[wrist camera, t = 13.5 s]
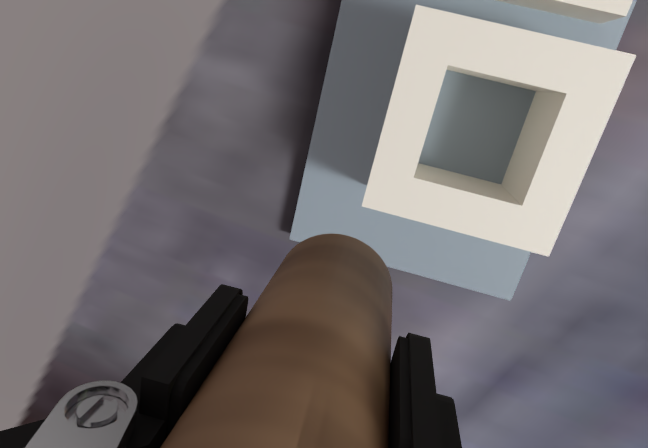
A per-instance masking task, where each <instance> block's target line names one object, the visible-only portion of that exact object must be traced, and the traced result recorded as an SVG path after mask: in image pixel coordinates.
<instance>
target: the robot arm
mask: <svg viewBox="0 0 648 448" xmlns="http://www.w3.org/2000/svg"><path fill="white" fill-rule="evenodd" d="M242 294H243V293H242V289H238V288H235V287H231V286H227V285H223V284H221V285H220V286H219V287H218V288H217V290H216V291H215V292H214V293H213V294H212V295H211V297H210V298H209V299H208V300H207V301H206V302H205V304H204V305H203V306H202V307H201V308H200V309H199V311H198V312H197V313H196V314H195V315H194V316H193V318H192V319H191V320H190V321H189V322H188V323H187V324H186V326H185V325H182V324H174V325H173V326H172V327H171V328H170V329H169V330H168V331H167V332H166V333H165V335H164V336H163V337H162V338H161V339H160V340H159V341H158V342H157V343H156V344H155V345H154V347H153V348H152V349H151V350H150V351H149V352H148V353H147V354H146V355H145V356H144V358H143V359H142V360H141V361H140V362H139V363H138V364H137V365H136V366H135V367H134V368H133V370H132V371H131V372H130V373H129V374H128V375H127V376H126V377H125V378H124V379H123V381H122V382H121V383H119V382H115V381H96V382H90V383H87V384H84V385H81V386H78V387H76V388H75V389H73V390H71V391H70V392H68V393H67V394H66V395H65V396H64V397H63V398H62V399H61V400H60V401H59V402H58V403H57V405H56V406H55V407H54V409H53V410H52V412H51V413H50V414H49V416H48V417H47V418H46V419H44V420H40V421H37V422H33V423H29V424H25V425H22V426H18V427H14V428H10V429H7V430H3V431H0V448H160V447H161V446H162V444H163V443H164V441H165V440H166V438H167V437H168V435H169V434H170V432H171V431H172V429H173V428H174V426H175V425H176V423H177V421H178V420H179V418H180V417H181V415H182V414H183V412H184V411H185V409H186V408H187V406H188V405H189V403H190V402H191V400H192V399H193V397H194V396H195V394H196V393H197V391H198V390H199V388H200V387H201V385H202V383H203V382H204V380H205V379H206V377H207V376H208V374H209V373H210V371H211V370H212V368H213V367H214V365H215V364H216V362H217V361H218V359H219V358H220V356H221V355H222V353H223V352H224V350H225V349H226V347H227V345H228V344H229V342H230V341H231V339H232V338H233V336H234V335H235V333H236V332H237V330H238V329H239V327H240V326H241V324H242V323H243V321H244V320H245V317H246V311H247V305H248V296H244V295H242ZM389 448H462V446H461V440H460V434H459V428H458V422H457V416H456V410H455V404H454V400H453V399H452V398H451V397H448V396H444V395H440V394H437V393H436V386H435V377H434V369H433V360H432V351H431V343H430V338H427V337H423V336H419V335H415V334H411V333H408V334H407V336H406V338H404V337H401V336H399V338H398V340H397V343H396V347H395V350H394V353H393V357H392V360H391V364H390V406H389Z"/></svg>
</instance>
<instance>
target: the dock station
mask: <svg viewBox="0 0 648 448" xmlns="http://www.w3.org/2000/svg"><path fill="white" fill-rule="evenodd" d="M636 1H637V0H342V1H341V6H340V11H339V15H338V20H337V24H336V29H335V33H334V38H333V43H332V47H331V52H330V56H329V61H328V65H327V70H326V74H325V79H324V84H323V88H322V93H321V97H320V102H319V106H318V111H317V116H316V120H315V125H314V129H313V134H312V138H311V143H310V147H309V152H308V157H307V161H306V166H305V170H304V175H303V179H302V184H301V189H300V193H299V198H298V202H297V207H296V211H295V216H294V220H293V225H292V230H291V234H290V240H294V241H297V242H302V241H304V240H306V239H308V238H310V237H313V236H316V235H321V234H342V235H347V236H350V237H353V238H356V239H358V240H360V241H362V242H364V243H365V244H367V245H368V246H370V247H371V248H372V249H373V250H374V251H375V252H376V253H377V254H378V255H379V256H380V257H381V259H382V260H383V261H384V263H385V265H386V266H387V267H391V268H394V269H398V270H402V271H405V272H409V273H412V274H416V275H420V276H423V277H427V278H430V279H434V280H438V281H441V282H445V283H448V284H452V285H456V286H459V287H463V288H466V289H470V290H474V291H477V292H481V293H484V294H488V295H492V296H495V297H499V298H502V299H506V300H510V301H511V299H512V297H513V294H514V292H515V290H516V287H517V285H518V282H519V280H520V278H521V275H522V273H523V271H524V268H525V266H526V263H527V261H528V259H529V256H530V254H531V252H533V253H537V254H541V255H545V256H548V257H549V255H550V253H551V251H552V248H553V246H554V244H555V241H556V239H557V237H558V234H559V232H560V230H561V228H562V225H563V223H564V221H565V218H566V216H567V214H568V211H569V209H570V207H571V205H572V202H573V200H574V198H575V195H576V193H577V191H578V188H579V186H580V184H581V182H582V179H583V177H584V175H585V172H586V170H587V168H588V165H589V163H590V161H591V159H592V156H593V154H594V152H595V149H596V147H597V145H598V142H599V140H600V138H601V136H602V133H603V131H604V129H605V126H606V124H607V122H608V119H609V117H610V115H611V113H612V110H613V108H614V106H615V103H616V101H617V99H618V96H619V94H620V92H621V90H622V87H623V85H624V83H625V80H626V78H627V76H628V73H629V71H630V69H631V67H632V64H633V62H634V60H635V57H636V55H633V54H629V53H625V52H620V51H616V48H617V46H618V44H619V41H620V39H621V36H622V34H623V32H624V29H625V27H626V25H627V22H628V20H629V17H630V15H631V13H632V10H633V8H634V5H635V3H636Z"/></svg>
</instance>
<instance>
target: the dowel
mask: <svg viewBox="0 0 648 448" xmlns="http://www.w3.org/2000/svg"><path fill="white" fill-rule="evenodd" d="M391 322H392V282H391V277H390V274H389V271H388V269H387V267H386V265H385V263H384V261H383V260H382V259H381V257H380V256H379V255H378V254H377V253H376V252H375V251H374V250H373V249H372V248H371V247H370V246H368V245H367V244H365V243H364V242H362V241H360V240H358V239H356V238H353V237H350V236H347V235H342V234H321V235H316V236H313V237H310V238H308V239H306V240H304V241H302V242H300V243H299V244H297V245H296V246H295V247H294V248H293V249H292V250H291V251H290V252H289V253H288V254H287V256H286V257H285V259H284V260H283V262H282V263H281V265H280V266H279V268H278V269H277V271H276V273H275V274H274V276H273V277H272V279H271V280H270V282H269V283H268V285H267V286H266V288H265V289H264V291H263V292H262V294H261V295H260V297H259V298H258V300H257V301H256V303H255V304H254V306H253V307H252V309H251V311H250V312H249V314H248V315H247V317H246V318H245V320H244V321H243V323H242V324H241V326H240V327H239V329H238V330H237V332H236V333H235V335H234V336H233V338H232V339H231V341H230V342H229V344H228V345H227V347H226V349H225V350H224V352H223V353H222V355H221V356H220V358H219V359H218V361H217V362H216V364H215V365H214V367H213V368H212V370H211V371H210V373H209V374H208V376H207V377H206V379H205V380H204V382H203V383H202V385H201V387H200V388H199V390H198V391H197V393H196V394H195V396H194V397H193V399H192V400H191V402H190V403H189V405H188V406H187V408H186V409H185V411H184V412H183V414H182V415H181V417H180V418H179V420H178V421H177V423H176V425H175V426H174V428H173V429H172V431H171V432H170V434H169V435H168V437H167V438H166V440H165V441H164V443H163V444H162V446H161V447H160V448H389V406H390V364H391Z"/></svg>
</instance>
